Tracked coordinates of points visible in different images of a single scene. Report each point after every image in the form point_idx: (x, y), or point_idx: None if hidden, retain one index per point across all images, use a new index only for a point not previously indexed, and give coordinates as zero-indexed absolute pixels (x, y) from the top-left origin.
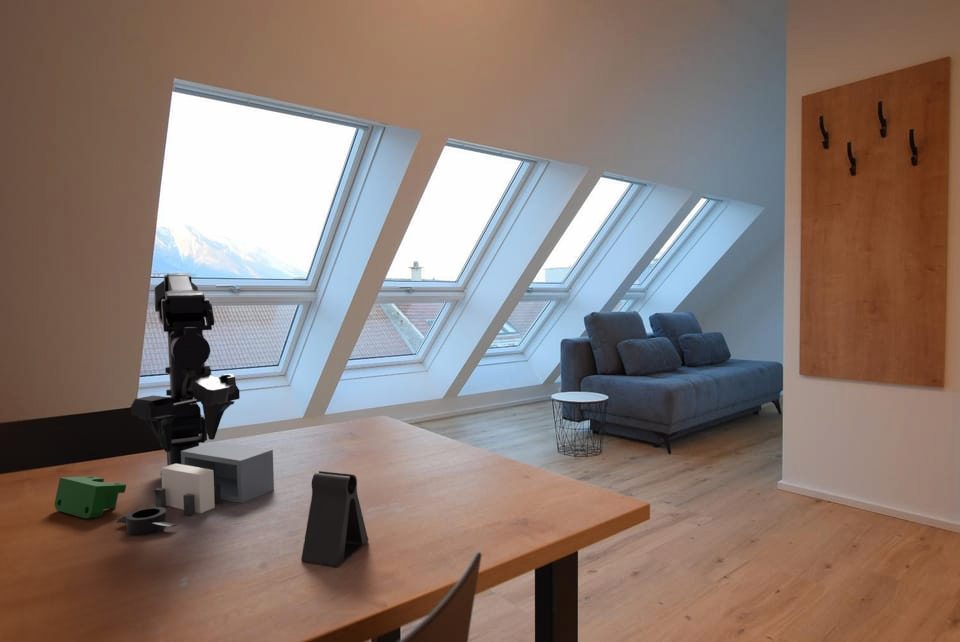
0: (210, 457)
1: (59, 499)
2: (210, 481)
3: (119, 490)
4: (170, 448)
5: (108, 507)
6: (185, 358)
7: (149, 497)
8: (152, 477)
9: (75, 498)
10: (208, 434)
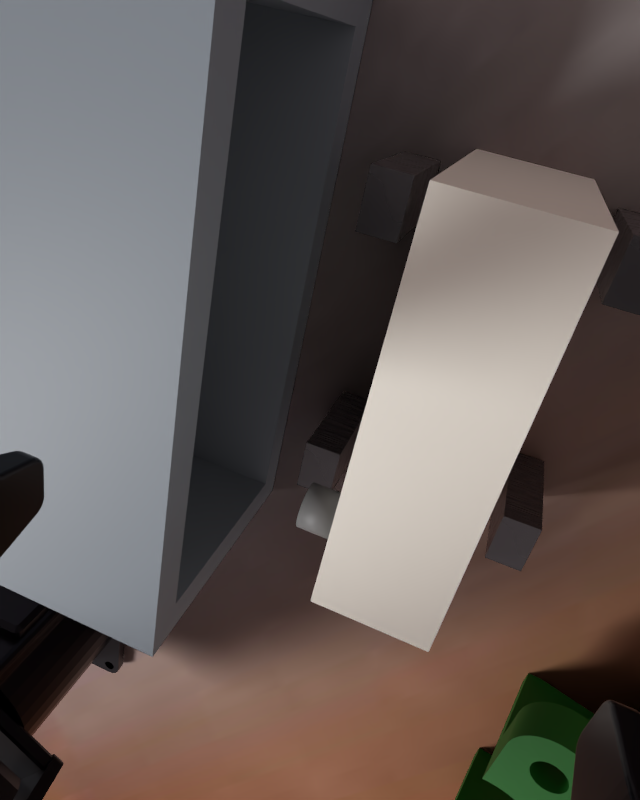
0: (185, 386)
1: None
2: (483, 178)
3: None
4: (634, 737)
5: (562, 698)
6: None
7: None
8: (167, 675)
9: None
10: (3, 541)
